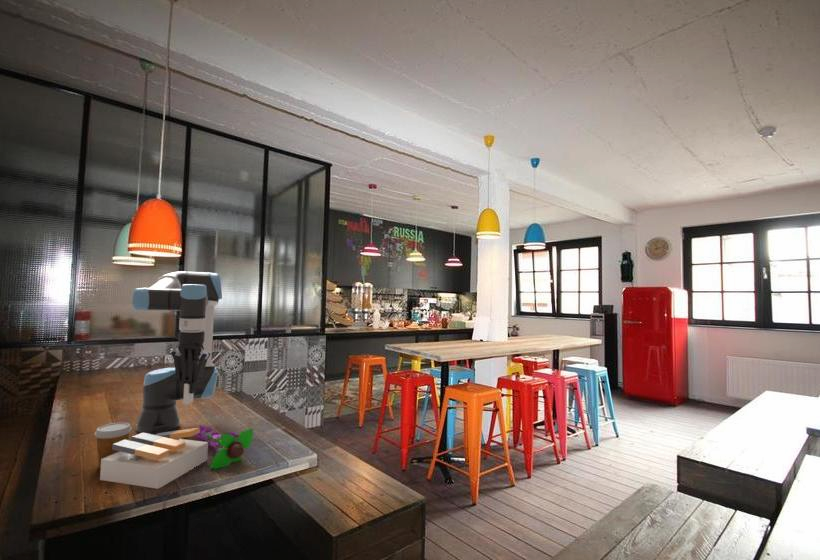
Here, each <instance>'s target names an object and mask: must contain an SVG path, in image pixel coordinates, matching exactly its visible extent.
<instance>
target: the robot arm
mask: <svg viewBox="0 0 820 560" xmlns="http://www.w3.org/2000/svg"><path fill="white" fill-rule="evenodd" d="M221 281H222V280H221V275H220V274H219V273H216V272H209V271H207V272H206V271H205V272H204V271H185V270H184V271H183V270H182V271H181V270H180V271H173V272H169V273H166V274H163V275H161V276H159V277H158V278H157V279H156V280H155V282H154V284H153V285H151V286H150V287H137V288H135V289H134V291H133V293H132V307H133V309H134V310H136V311H144V312H145V311H175V312H176V311H179V323H178V329H179V332H178V336H177V337H178V340H177V342H178V344H179V345H178V347H177V349H176V350H174V351H173V350H172V351H171V353H170V355H171V357H172V358H173V364H174V367H165V368H158V369H154V370H151V371H149V372H147V373H146V374H145V375H144V378H143V384H142V386H143V393H142V406H141V407H142V409H141V412H140V414H139V418H138V421H137V422H136V424H135V431H136V432H137V433H139V434H140V433H142V432H144V433H148V434H158V433H163V432H170V431H173V430H174V429H176V428H178V427H180V423H181V418H180V416H179V412H178V409H177V401H183V402H182V403H183V404H182V405H189V404H193V403H194V400H198V399H200V400H202V399H209V398H212V397H213V396H214V394H215V390H216V385H217V381H218V376H219V375H218V374H219V370H218V369H216V366H215V364H214V363H213V362H212V354H213V338H214V318H215V307H216V306H217V305H218V304H219V300H222V299H223V293H222V291H223V290H222V282H221Z"/></svg>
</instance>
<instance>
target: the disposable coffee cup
mask: <svg viewBox="0 0 820 560" xmlns="http://www.w3.org/2000/svg"><path fill="white" fill-rule="evenodd" d="M132 429H133V427H131V424H130V422H129V423H128V422H113V423H108V424H103V425H101V426H99V427H97V428H96V430H95V432H94V437H95V438H96V448H97V458H98V468H99V469H101V459H103V458H105V457H108V456H110V455H113V454H115V453H117V452H120V451H116V450H112V446H113V444H114V443H117V442H120V441H122V440H129V438H130V433H131V431H132Z"/></svg>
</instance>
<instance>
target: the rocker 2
mask: <svg viewBox="0 0 820 560" xmlns="http://www.w3.org/2000/svg"><path fill="white" fill-rule="evenodd" d="M198 433H200V428H198V427H194V428H193V427H192V428H186V429H178V430H169V431H164V432H158V433H154V435H157V436H161V437H166V438H170V439H176V438H179V439H184V438H190V437H194V435H195V434H198Z"/></svg>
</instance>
